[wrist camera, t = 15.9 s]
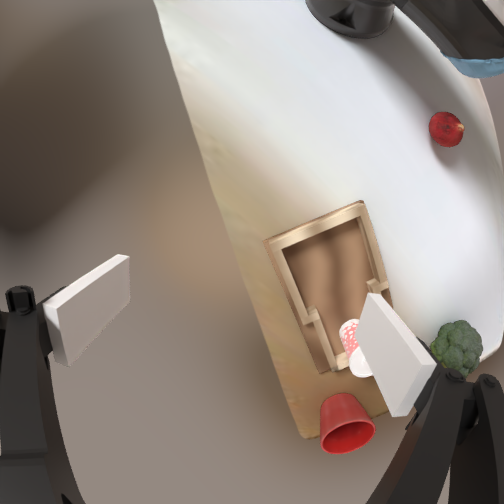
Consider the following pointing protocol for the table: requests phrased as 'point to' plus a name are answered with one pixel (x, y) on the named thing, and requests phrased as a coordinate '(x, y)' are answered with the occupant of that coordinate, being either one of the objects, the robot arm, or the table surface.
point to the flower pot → (344, 424)
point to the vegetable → (458, 347)
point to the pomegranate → (446, 129)
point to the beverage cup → (354, 349)
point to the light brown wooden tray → (329, 277)
